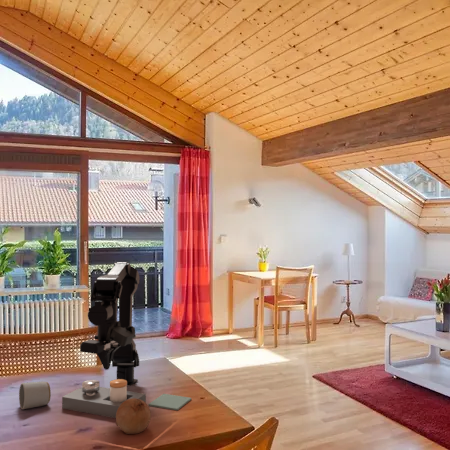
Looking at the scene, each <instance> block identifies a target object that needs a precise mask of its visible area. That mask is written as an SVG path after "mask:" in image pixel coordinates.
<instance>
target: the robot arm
mask: <svg viewBox="0 0 450 450" xmlns="http://www.w3.org/2000/svg"><path fill="white" fill-rule="evenodd" d="M139 284H140V273H139V271H138V269H137V268H136V267H133V266H132V265H131V263H129V262H128V261H126V262H125V261H120V262H119V261H117V262H114V265H113V267H112V269H111V270H110V271H109V272H108V273H107V274H105V275H100V276H98V277H97V278H96V279H95V281H94V283H93V287H92V292H91V297H90V302H94V305H93V306H91V307H90V308H89V310H88V312H87V318H88V320H89V322H90V323H91V324H92V325H94V326H95V327H97V334H96V335H94V339H88V340H85V341H82V342H81V343H80V345H79V352H81V353H88V354H89V353H90V354H95V355H97V357H98V359H99V361H100V363H101V365H102V366H103V367H102V368H103V369H104V370H105V371H108V370H110V367H112V368H116V379H124V380H126V381H127V386H132V385H133V384H135V383H137V382H138V379H136V378H135V368H137V367H139V366H140V357H139V353H138V350H137V348H136V346H137V345H136V343H135V341H134V339H135V338H136V328H135V326H133V303H134V301H133V297H134V294H135V293H136V292H137V290H138V285H139ZM118 301H119V308H118ZM118 309H119V311H118ZM118 314H119V315H118ZM111 365H112V366H111Z"/></svg>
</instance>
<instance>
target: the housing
mask: <svg viewBox="0 0 450 450" xmlns="http://www.w3.org/2000/svg"><path fill="white" fill-rule="evenodd" d="M146 397H147V396H146V393H142V392H136V391H130V390H127V400H128V399H132V398H136V399H140V400H142V401H144V402H145V403H146V401H147V400H146ZM61 400H62V401H61V406H62V407H61V409H63V410H67V411H68V410H70V411H74V412H75V411H76V412H80V413H86V414H89V415H90V414H91V415H95V416H96V415H97V416H102V417H107V418H108V417H109V418H114V419H116V413H117V410H118V408H119V406H120V405H121V404H122V403H123V402H122V403H119V402H113V401H110V387H103V386H99V391H98V392H95V395H93V396H90V395H86V393H84V392H82V386H81V387H79V388H77V389H75V390H73V391H71V392H69V393H67V394H65V395H63V396H62V397H61ZM146 404H147V403H146Z"/></svg>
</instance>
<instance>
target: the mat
mask: <svg viewBox="0 0 450 450" xmlns="http://www.w3.org/2000/svg"><path fill="white" fill-rule="evenodd" d="M190 401H192V397H189V396H188V397H187V396H183V395H182V396H181V395H175V394H169V393H162V394H161V395H159V396H158V397H157V398H155V399H154V400H152V401H151V402H150V403H148V404H147V405H148V407H154V408H159V409H166V410H171V411H176V412H177V411H178V410H180V409H181V408H183V407H184V406H185V405H186V404H188V403H189V402H190Z"/></svg>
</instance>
